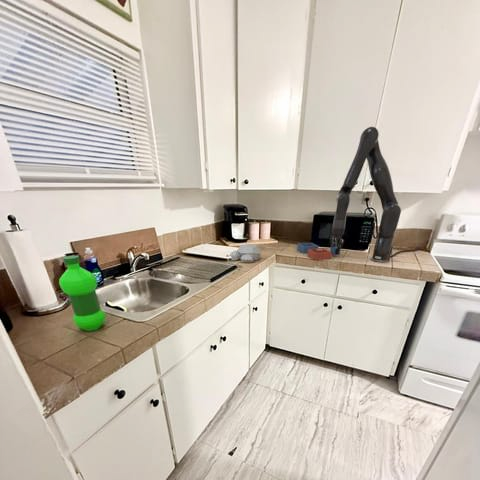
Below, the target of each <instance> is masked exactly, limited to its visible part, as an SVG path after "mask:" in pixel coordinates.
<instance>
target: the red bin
mask: <svg viewBox="0 0 480 480" xmlns="http://www.w3.org/2000/svg"><path fill="white" fill-rule="evenodd" d="M318 249H323V250H324V252H320V253H316V252H315V249H308V253H307V255H306V256H307V257H309V258H311V259H312V260H314V261H319V260H320V261H321V260H331V259H332V254H331V253H332V252H330V250H329V249H327V248H324V247H320V248H319V247H318Z"/></svg>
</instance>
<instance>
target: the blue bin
mask: <svg viewBox="0 0 480 480" xmlns="http://www.w3.org/2000/svg"><path fill="white" fill-rule="evenodd" d="M318 248H319V245H317V244H315V243H313V242H300V243H297V245H296V250H297V251H299V252H300V253H302V254H308V249H318Z"/></svg>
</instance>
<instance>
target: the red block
mask: <svg viewBox="0 0 480 480" xmlns="http://www.w3.org/2000/svg"><path fill="white" fill-rule="evenodd" d="M315 252H316V253H320V252H324V250H323V249H315Z"/></svg>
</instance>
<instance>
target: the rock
mask: <svg viewBox="0 0 480 480" xmlns="http://www.w3.org/2000/svg"><path fill="white" fill-rule="evenodd" d="M261 253H262V251H261V249H260V247H259V245H258V244H251V243H248V244H247V243H245V244H240V245H239V247H238V248H237V250H233V251H231V252H230V253H229V255H228V257H230V256H231V257H232V258H230V260H231V261H238V260H240V261H241V263H254V261H258V260H260V259H261Z"/></svg>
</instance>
